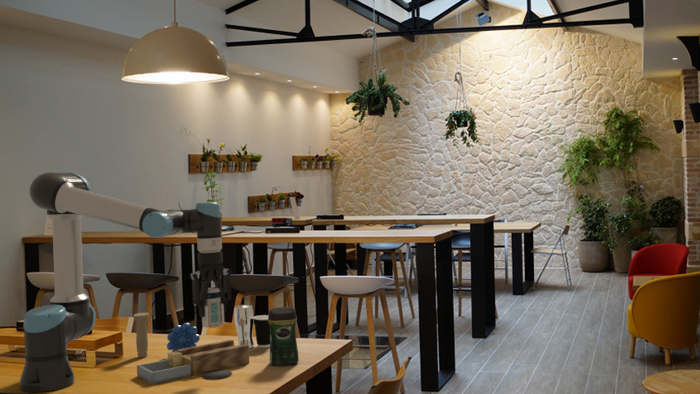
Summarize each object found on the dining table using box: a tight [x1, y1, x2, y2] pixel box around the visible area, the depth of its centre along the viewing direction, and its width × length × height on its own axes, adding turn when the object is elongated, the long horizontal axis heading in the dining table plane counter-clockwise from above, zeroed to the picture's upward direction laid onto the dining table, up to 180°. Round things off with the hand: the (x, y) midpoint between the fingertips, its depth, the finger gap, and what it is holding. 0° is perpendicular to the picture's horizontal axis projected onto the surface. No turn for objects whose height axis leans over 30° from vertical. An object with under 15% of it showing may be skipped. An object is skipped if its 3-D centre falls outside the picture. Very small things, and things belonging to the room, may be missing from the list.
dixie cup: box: [253, 314, 270, 349], centre depth 245 cm, size 8×8×11 cm
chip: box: [167, 363, 182, 369], centre depth 211 cm, size 3×4×3 cm
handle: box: [133, 312, 150, 359], centre depth 234 cm, size 5×6×15 cm
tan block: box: [167, 351, 182, 365], centre depth 211 cm, size 3×4×3 cm
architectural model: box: [70, 348, 84, 355], centre depth 238 cm, size 3×7×7 cm, turn 17°
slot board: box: [177, 339, 250, 376], centre depth 220 cm, size 20×12×6 cm, turn 129°
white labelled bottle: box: [205, 286, 222, 329], centre depth 209 cm, size 5×5×12 cm
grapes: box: [166, 322, 201, 352], centre depth 234 cm, size 12×7×12 cm, turn 89°
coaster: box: [202, 369, 233, 380], centre depth 208 cm, size 9×9×1 cm
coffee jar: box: [268, 306, 299, 367], centre depth 221 cm, size 10×8×19 cm
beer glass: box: [233, 304, 255, 349], centre depth 244 cm, size 7×7×15 cm
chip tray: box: [136, 358, 192, 385], centre depth 209 cm, size 12×12×4 cm
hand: (213, 325), depth 209 cm, fingers closed on white labelled bottle, 5 cm apart
